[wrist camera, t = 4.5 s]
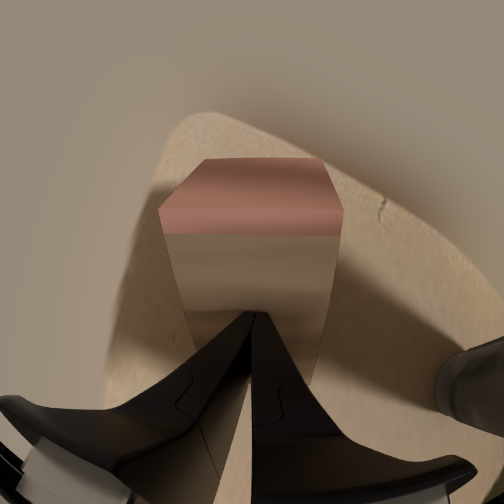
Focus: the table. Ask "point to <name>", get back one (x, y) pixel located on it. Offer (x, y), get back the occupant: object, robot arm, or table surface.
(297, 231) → the wooden block
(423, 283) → the table surface
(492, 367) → the beverage cup
